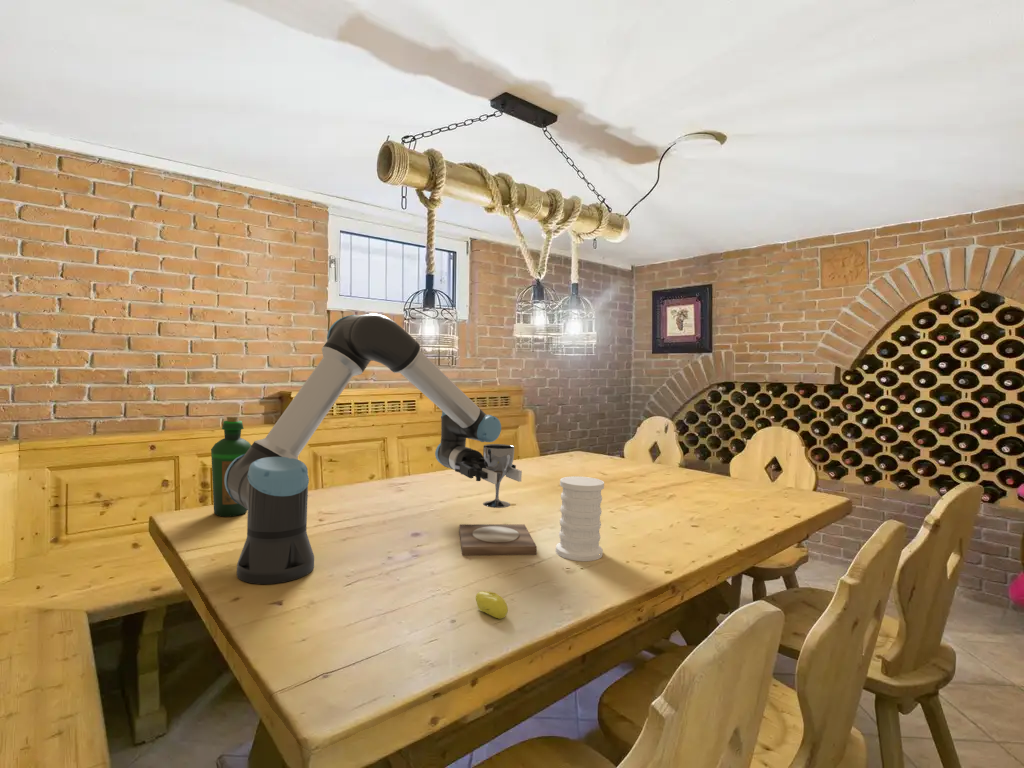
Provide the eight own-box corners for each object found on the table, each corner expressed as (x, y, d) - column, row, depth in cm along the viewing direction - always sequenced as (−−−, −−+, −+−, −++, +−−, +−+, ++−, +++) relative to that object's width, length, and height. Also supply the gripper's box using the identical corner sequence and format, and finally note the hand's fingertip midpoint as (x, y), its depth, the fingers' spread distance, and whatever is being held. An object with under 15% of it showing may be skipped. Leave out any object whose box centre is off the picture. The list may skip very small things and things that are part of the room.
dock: (536, 554, 130) (536, 544, 130) (462, 555, 128) (462, 545, 128) (524, 531, 148) (524, 522, 148) (459, 531, 146) (459, 523, 146)
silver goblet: (482, 499, 142) (484, 443, 141) (512, 501, 142) (514, 444, 141) (479, 507, 134) (482, 448, 133) (511, 509, 134) (514, 449, 133)
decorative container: (599, 564, 126) (602, 488, 125) (551, 557, 129) (554, 483, 128) (605, 548, 137) (608, 478, 136) (560, 542, 140) (563, 474, 139)
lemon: (494, 625, 94) (495, 603, 94) (469, 608, 101) (470, 587, 100) (513, 619, 97) (514, 598, 97) (488, 602, 103) (488, 582, 103)
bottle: (239, 519, 149) (241, 419, 148) (201, 517, 149) (203, 417, 148) (258, 509, 160) (260, 415, 159) (223, 507, 160) (225, 414, 159)
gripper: (496, 471, 158) (539, 488, 138) (434, 476, 148) (472, 495, 128) (497, 446, 158) (540, 460, 138) (435, 449, 148) (473, 464, 128)
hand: (507, 477), depth 133 cm, fingers closed on silver goblet, 6 cm apart
